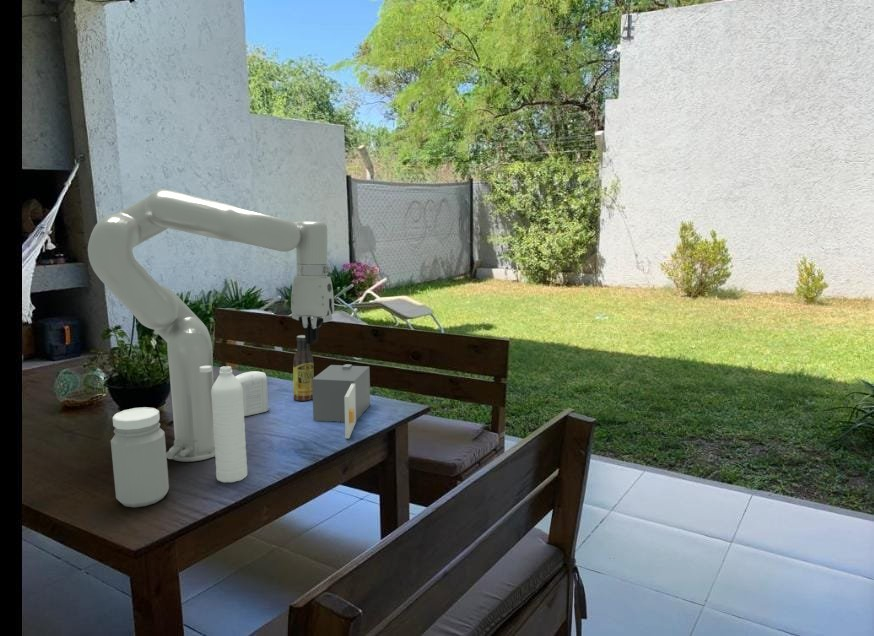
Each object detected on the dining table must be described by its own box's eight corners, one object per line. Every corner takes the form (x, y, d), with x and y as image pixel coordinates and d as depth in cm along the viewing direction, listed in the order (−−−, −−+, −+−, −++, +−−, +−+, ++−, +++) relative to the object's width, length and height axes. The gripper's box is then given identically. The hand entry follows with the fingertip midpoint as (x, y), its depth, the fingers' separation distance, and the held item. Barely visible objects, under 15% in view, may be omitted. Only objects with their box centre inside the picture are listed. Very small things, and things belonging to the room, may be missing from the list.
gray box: (355, 423, 169) (354, 378, 167) (308, 420, 171) (306, 376, 169) (370, 405, 185) (369, 363, 182) (326, 402, 187) (325, 362, 185)
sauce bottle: (298, 403, 187) (295, 339, 183) (290, 398, 192) (287, 335, 188) (318, 399, 190) (316, 336, 187) (309, 394, 195) (307, 333, 192)
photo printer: (263, 408, 182) (261, 367, 180) (270, 411, 179) (268, 370, 177) (230, 415, 175) (228, 374, 173) (237, 419, 172) (235, 377, 170)
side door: (359, 421, 169) (359, 383, 167) (353, 438, 156) (352, 397, 154) (352, 421, 169) (351, 383, 167) (345, 438, 156) (343, 396, 154)
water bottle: (251, 470, 138) (245, 363, 134) (242, 483, 132) (236, 370, 127) (212, 470, 138) (205, 363, 134) (201, 483, 132) (193, 370, 127)
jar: (172, 501, 123) (165, 416, 120) (118, 513, 118) (109, 425, 115) (166, 483, 132) (160, 403, 128) (115, 493, 127) (107, 410, 124)
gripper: (345, 271, 154) (345, 342, 157) (292, 268, 158) (292, 338, 161) (332, 273, 147) (332, 348, 150) (277, 270, 151) (278, 343, 154)
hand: (311, 342), depth 155 cm, fingers closed
